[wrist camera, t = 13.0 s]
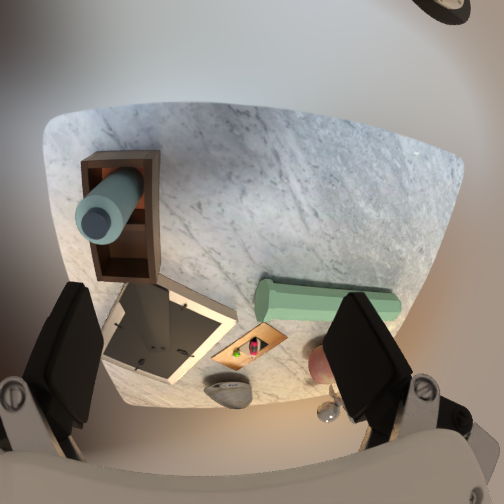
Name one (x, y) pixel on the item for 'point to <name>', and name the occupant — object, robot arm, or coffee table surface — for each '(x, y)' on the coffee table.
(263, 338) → the board
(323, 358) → the apple
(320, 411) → the robot toy
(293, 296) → the container
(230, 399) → the seashell
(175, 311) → the picture frame
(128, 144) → the coffee table surface
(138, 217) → the holder
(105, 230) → the bottle
